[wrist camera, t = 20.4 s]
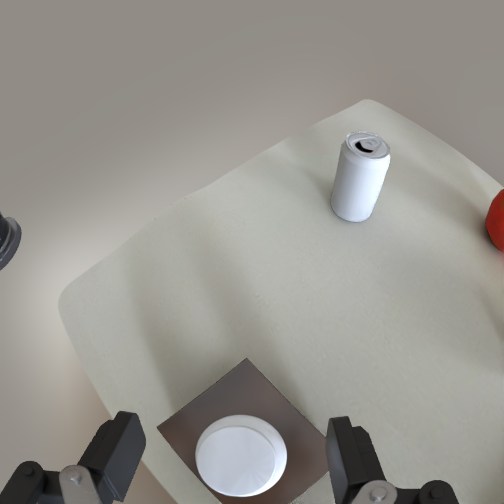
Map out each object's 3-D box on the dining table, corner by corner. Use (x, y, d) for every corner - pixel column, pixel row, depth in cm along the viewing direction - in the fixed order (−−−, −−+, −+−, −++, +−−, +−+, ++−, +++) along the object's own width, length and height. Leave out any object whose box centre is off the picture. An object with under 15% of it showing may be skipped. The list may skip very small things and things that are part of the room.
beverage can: (321, 205, 44) (331, 139, 34) (348, 186, 46) (363, 123, 36) (352, 232, 41) (373, 167, 31) (379, 211, 43) (402, 149, 33)
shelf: (181, 428, 28) (156, 427, 21) (251, 374, 31) (246, 357, 25) (254, 508, 23) (250, 530, 16) (327, 450, 26) (345, 455, 20)
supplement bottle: (295, 439, 21) (312, 446, 13) (257, 490, 18) (250, 525, 10) (239, 406, 22) (222, 392, 14) (201, 455, 20) (162, 468, 12)
